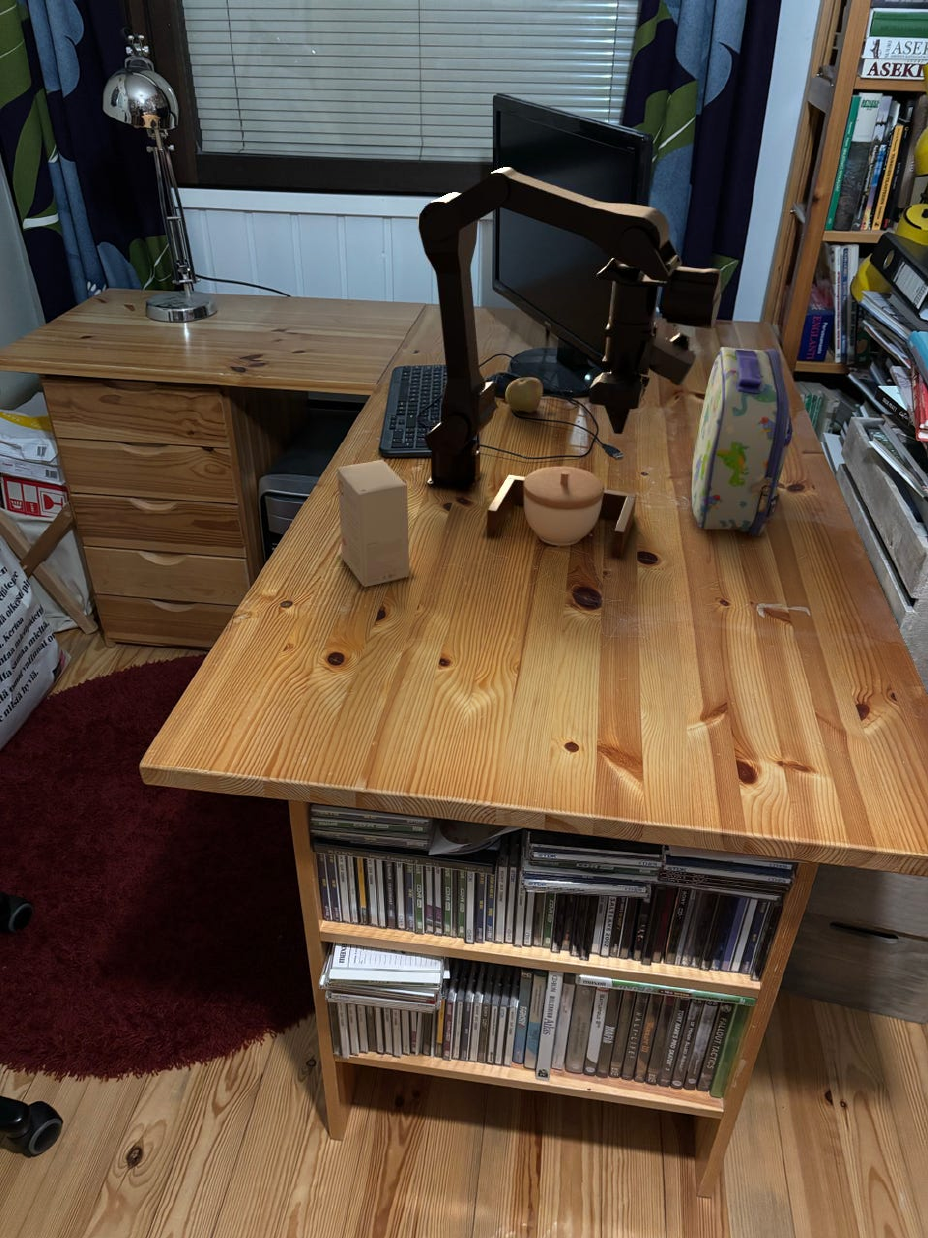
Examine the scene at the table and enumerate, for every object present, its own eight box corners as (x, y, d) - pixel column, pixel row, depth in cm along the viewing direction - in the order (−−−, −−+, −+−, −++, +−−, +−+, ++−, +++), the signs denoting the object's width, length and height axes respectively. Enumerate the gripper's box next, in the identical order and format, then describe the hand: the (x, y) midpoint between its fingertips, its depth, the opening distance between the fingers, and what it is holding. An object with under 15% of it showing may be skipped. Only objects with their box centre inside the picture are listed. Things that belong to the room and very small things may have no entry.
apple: (551, 417, 161) (553, 384, 158) (504, 416, 161) (506, 383, 158) (549, 404, 166) (552, 372, 162) (504, 402, 166) (506, 370, 163)
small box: (410, 577, 118) (408, 484, 111) (363, 588, 116) (358, 495, 109) (386, 547, 124) (383, 457, 117) (341, 557, 122) (334, 466, 114)
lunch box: (771, 551, 125) (806, 402, 113) (690, 543, 127) (716, 395, 115) (758, 467, 146) (786, 334, 134) (688, 461, 148) (710, 329, 136)
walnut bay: (486, 535, 127) (487, 509, 125) (507, 499, 136) (508, 474, 134) (620, 558, 123) (623, 531, 121) (633, 519, 132) (636, 493, 130)
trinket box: (515, 517, 132) (518, 456, 126) (589, 514, 133) (596, 453, 127) (526, 556, 123) (531, 492, 118) (606, 553, 124) (614, 490, 119)
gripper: (688, 348, 109) (669, 470, 118) (703, 303, 123) (685, 415, 132) (594, 337, 111) (582, 457, 120) (619, 295, 126) (607, 405, 135)
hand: (618, 432), depth 127 cm, fingers closed
